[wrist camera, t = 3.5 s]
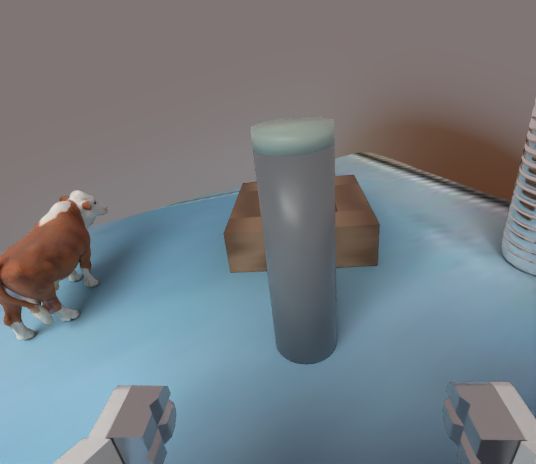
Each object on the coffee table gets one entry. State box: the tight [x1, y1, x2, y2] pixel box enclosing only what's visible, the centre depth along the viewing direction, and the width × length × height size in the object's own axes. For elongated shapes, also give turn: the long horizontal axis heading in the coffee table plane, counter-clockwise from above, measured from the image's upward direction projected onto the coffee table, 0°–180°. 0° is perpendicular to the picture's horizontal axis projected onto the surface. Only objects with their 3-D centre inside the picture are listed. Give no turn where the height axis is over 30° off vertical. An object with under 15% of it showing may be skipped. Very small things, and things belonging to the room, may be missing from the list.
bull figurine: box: [0, 190, 107, 340], centre depth 28 cm, size 4×13×8 cm, turn 177°
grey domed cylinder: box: [251, 116, 336, 364], centre depth 19 cm, size 4×4×14 cm
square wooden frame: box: [224, 175, 380, 272], centre depth 35 cm, size 13×13×4 cm
